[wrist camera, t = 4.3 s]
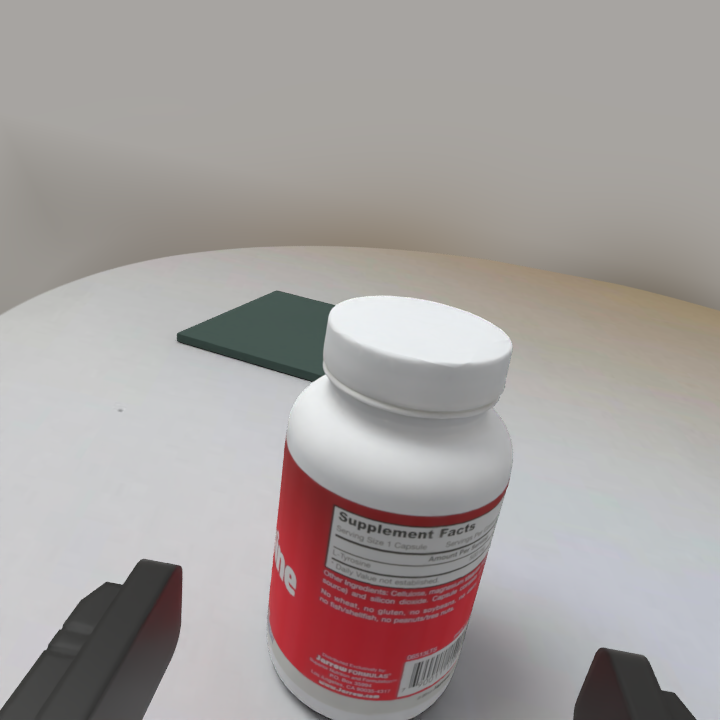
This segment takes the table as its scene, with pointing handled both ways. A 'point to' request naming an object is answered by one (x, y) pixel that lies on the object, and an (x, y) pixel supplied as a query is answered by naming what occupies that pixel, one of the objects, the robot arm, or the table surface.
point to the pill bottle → (387, 506)
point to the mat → (269, 334)
